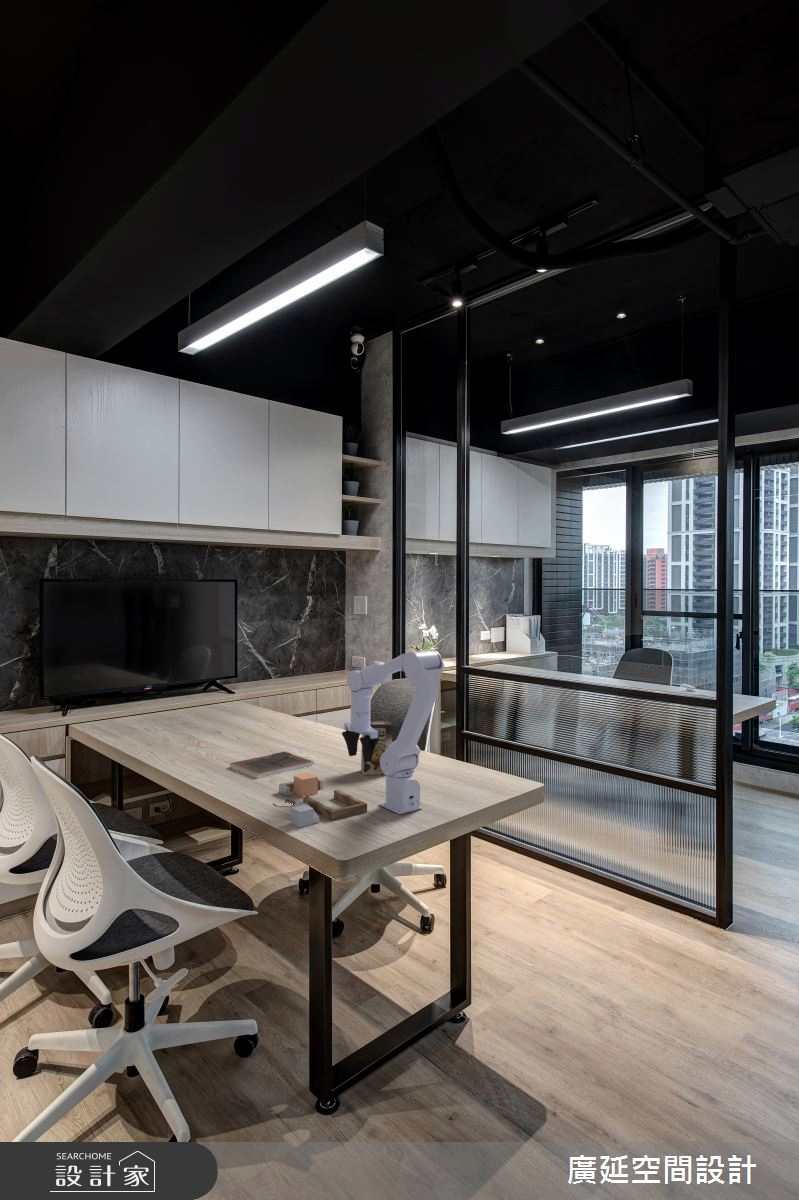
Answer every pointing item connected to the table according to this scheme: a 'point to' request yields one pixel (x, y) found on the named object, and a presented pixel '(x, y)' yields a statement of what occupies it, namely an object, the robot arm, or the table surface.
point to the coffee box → (377, 748)
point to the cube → (305, 784)
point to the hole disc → (290, 801)
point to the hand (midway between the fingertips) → (360, 758)
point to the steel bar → (315, 816)
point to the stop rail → (289, 787)
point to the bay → (352, 809)
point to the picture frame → (271, 764)
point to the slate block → (302, 815)
